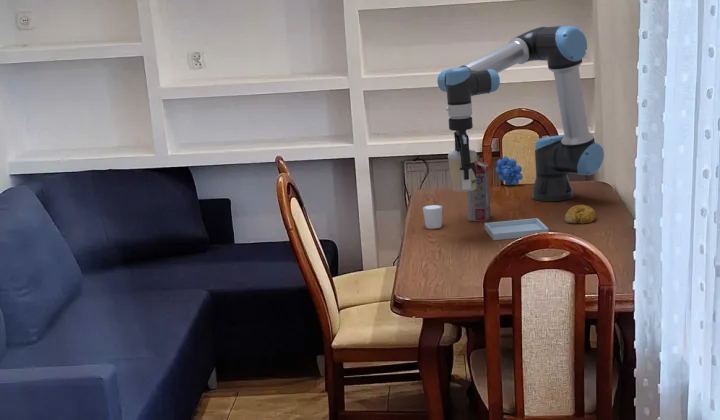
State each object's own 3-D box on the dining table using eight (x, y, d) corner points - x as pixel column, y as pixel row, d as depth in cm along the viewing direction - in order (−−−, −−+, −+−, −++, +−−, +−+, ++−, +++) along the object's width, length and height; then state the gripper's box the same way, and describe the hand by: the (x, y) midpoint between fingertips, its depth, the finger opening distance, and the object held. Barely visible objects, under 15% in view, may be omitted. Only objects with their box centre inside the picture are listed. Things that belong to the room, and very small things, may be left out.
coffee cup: (477, 191, 270) (475, 154, 267) (448, 192, 272) (446, 156, 269) (479, 184, 278) (477, 149, 275) (451, 186, 280) (449, 150, 277)
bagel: (557, 221, 289) (556, 207, 287) (583, 215, 293) (583, 202, 292) (576, 227, 280) (575, 213, 279) (602, 221, 284) (602, 207, 283)
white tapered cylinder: (422, 224, 297) (421, 205, 295) (441, 223, 298) (440, 203, 296) (425, 229, 290) (424, 210, 289) (445, 227, 291) (444, 208, 289)
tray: (537, 224, 286) (537, 218, 285) (548, 235, 272) (548, 228, 272) (484, 229, 285) (484, 223, 285) (493, 240, 272) (493, 234, 271)
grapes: (491, 187, 346) (490, 158, 343) (498, 183, 351) (497, 155, 348) (518, 188, 339) (517, 159, 336) (525, 184, 345) (524, 155, 342)
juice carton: (490, 216, 301) (487, 155, 296) (487, 220, 295) (484, 159, 290) (472, 215, 304) (469, 155, 298) (468, 220, 297) (465, 159, 292)
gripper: (443, 113, 280) (447, 180, 285) (453, 122, 259) (458, 194, 264) (466, 111, 280) (470, 178, 285) (478, 120, 259) (481, 192, 265)
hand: (464, 186), depth 275 cm, fingers closed on coffee cup, 8 cm apart
